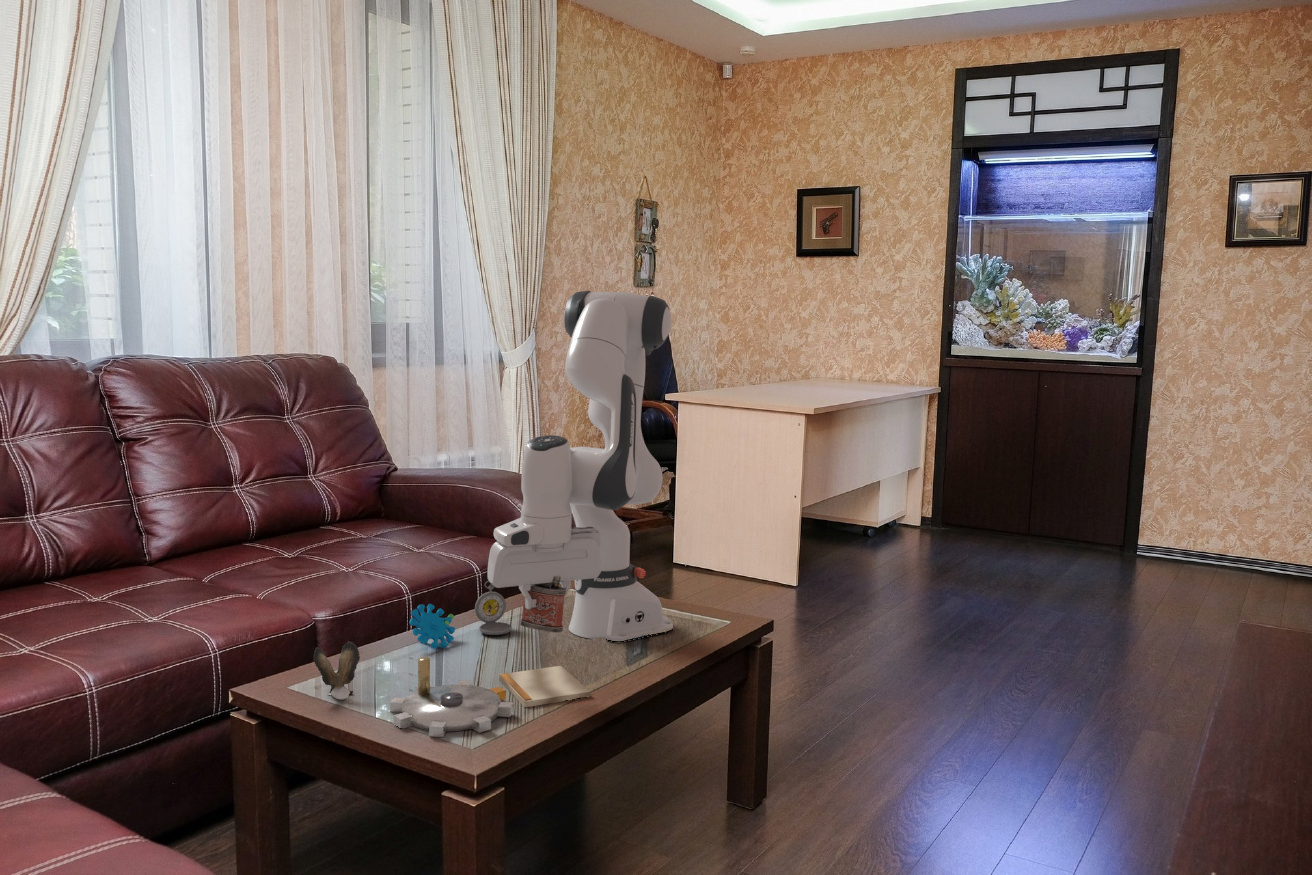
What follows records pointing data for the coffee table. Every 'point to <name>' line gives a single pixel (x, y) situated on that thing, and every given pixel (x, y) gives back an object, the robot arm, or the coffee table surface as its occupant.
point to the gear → (432, 626)
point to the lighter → (545, 607)
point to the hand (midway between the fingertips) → (544, 606)
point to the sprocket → (449, 705)
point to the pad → (543, 686)
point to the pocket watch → (487, 603)
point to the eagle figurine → (345, 669)
